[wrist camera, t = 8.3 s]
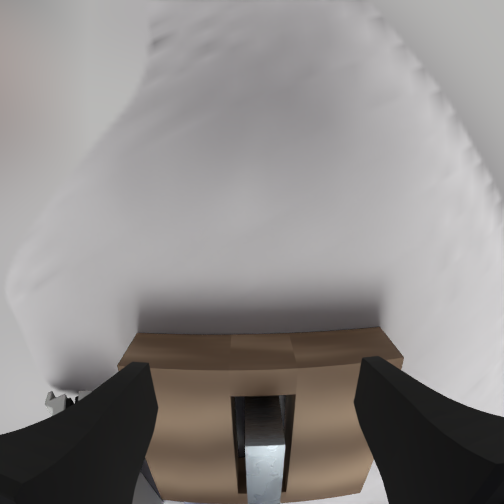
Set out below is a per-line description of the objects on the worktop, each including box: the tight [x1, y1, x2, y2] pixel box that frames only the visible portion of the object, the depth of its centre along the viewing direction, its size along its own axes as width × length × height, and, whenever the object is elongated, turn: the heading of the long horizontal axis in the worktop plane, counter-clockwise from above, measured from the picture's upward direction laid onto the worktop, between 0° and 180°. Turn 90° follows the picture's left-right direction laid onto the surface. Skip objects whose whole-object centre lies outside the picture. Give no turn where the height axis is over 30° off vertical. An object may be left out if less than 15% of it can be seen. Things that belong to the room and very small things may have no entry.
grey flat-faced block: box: [245, 395, 285, 504], centre depth 18 cm, size 8×2×7 cm, turn 1°
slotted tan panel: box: [117, 327, 404, 504], centre depth 20 cm, size 14×16×4 cm
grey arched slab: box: [45, 391, 164, 504], centre depth 19 cm, size 17×5×10 cm, turn 11°
